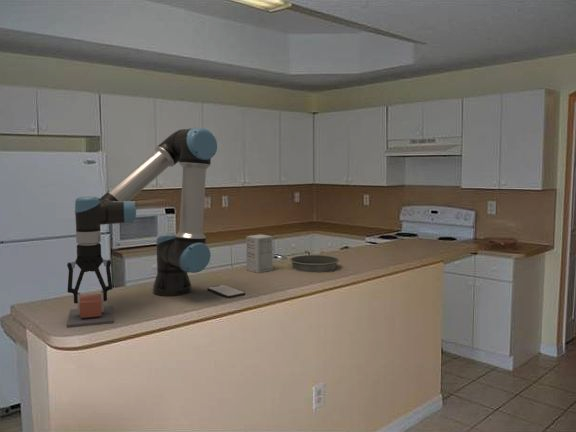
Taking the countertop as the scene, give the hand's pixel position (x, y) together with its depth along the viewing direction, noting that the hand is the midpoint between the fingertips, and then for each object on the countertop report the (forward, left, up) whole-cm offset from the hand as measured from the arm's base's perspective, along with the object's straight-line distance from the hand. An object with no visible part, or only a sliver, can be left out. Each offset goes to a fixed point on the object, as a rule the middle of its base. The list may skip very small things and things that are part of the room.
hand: (91, 311), depth 169 cm
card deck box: (0, 0, 0) cm, 0 cm away
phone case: (-50, -17, -3) cm, 53 cm away
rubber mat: (0, 0, -2) cm, 2 cm away
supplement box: (-75, -54, -2) cm, 92 cm away
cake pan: (-103, -52, -2) cm, 115 cm away
